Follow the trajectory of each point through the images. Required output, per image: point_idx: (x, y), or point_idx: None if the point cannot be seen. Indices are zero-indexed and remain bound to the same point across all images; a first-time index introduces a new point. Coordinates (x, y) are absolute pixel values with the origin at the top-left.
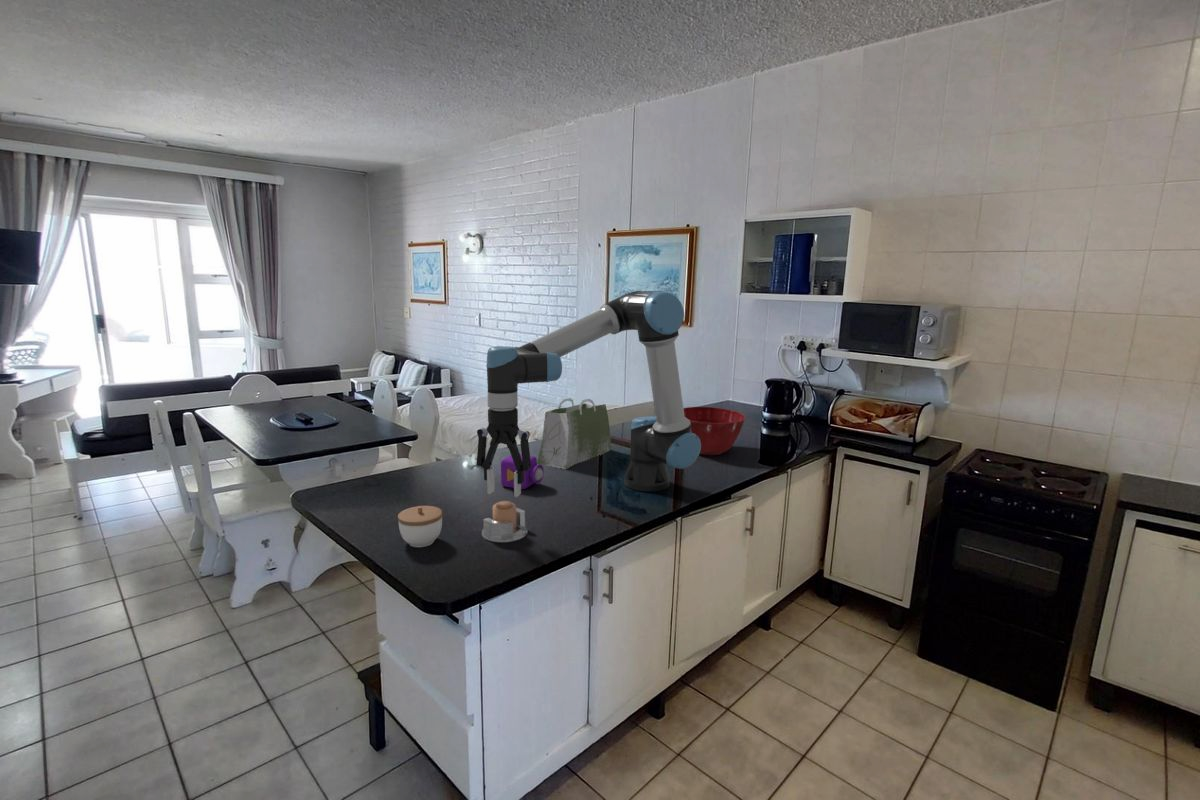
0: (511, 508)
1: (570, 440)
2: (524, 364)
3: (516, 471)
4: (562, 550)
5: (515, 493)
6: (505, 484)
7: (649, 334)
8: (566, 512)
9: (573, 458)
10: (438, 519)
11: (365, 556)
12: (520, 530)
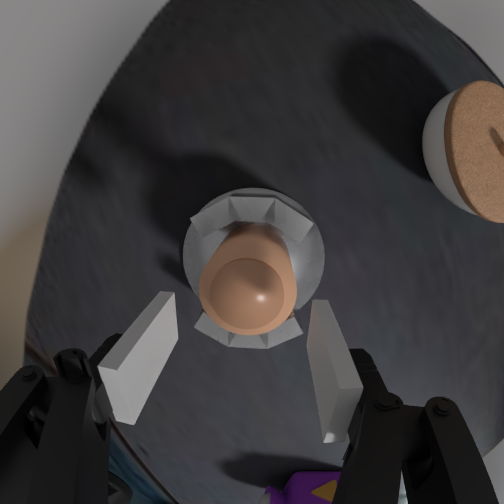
0: (207, 277)
1: None
2: None
3: (85, 365)
4: (73, 196)
5: (161, 298)
6: (339, 474)
7: None
8: (152, 398)
9: None
10: (445, 127)
11: (498, 78)
12: None
